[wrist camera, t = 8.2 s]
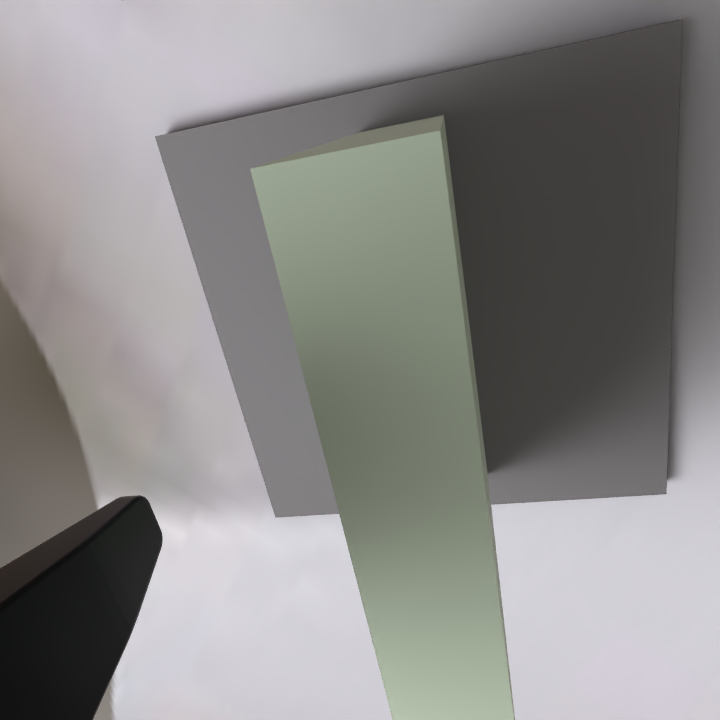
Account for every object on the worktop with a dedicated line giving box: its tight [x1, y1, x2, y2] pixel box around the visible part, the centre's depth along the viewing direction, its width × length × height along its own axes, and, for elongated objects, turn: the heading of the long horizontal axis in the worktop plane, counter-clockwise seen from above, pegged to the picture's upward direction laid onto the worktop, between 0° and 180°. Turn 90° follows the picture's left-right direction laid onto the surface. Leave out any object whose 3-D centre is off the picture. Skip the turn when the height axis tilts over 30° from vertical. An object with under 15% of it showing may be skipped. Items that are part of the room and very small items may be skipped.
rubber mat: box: [155, 19, 682, 517], centre depth 15 cm, size 12×12×1 cm
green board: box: [250, 115, 515, 720], centre depth 11 cm, size 2×10×8 cm, turn 11°
